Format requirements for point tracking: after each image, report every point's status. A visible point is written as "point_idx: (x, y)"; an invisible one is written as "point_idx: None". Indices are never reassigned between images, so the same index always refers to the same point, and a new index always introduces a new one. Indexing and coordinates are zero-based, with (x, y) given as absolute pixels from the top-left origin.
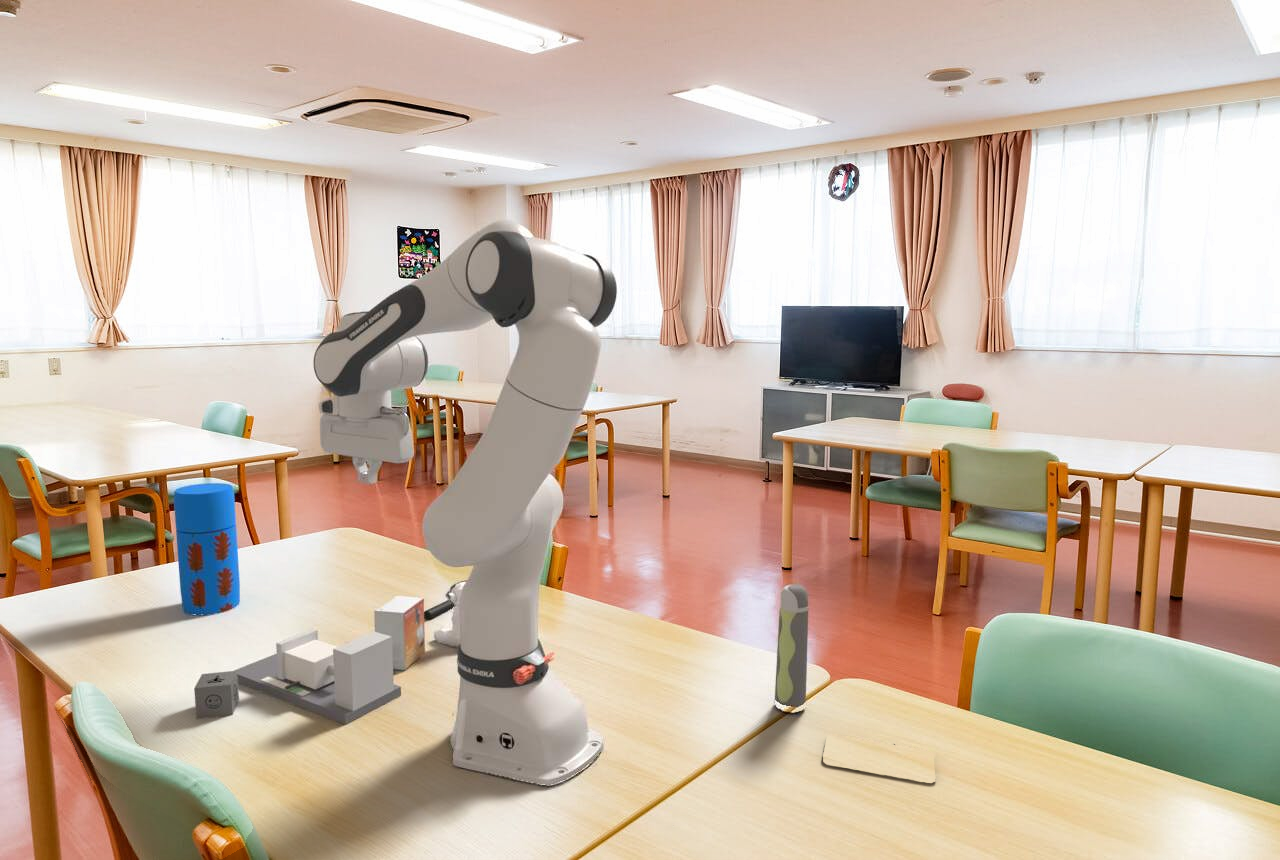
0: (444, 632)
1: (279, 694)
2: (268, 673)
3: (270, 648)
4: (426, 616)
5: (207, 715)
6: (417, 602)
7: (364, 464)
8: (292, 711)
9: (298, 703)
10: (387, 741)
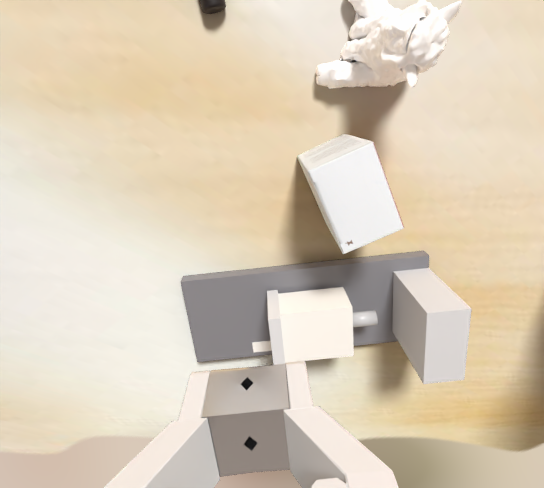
0: (350, 80)
1: None
2: (242, 337)
3: (131, 277)
4: (214, 10)
5: None
6: (382, 169)
7: (164, 481)
8: None
9: None
10: (490, 324)
